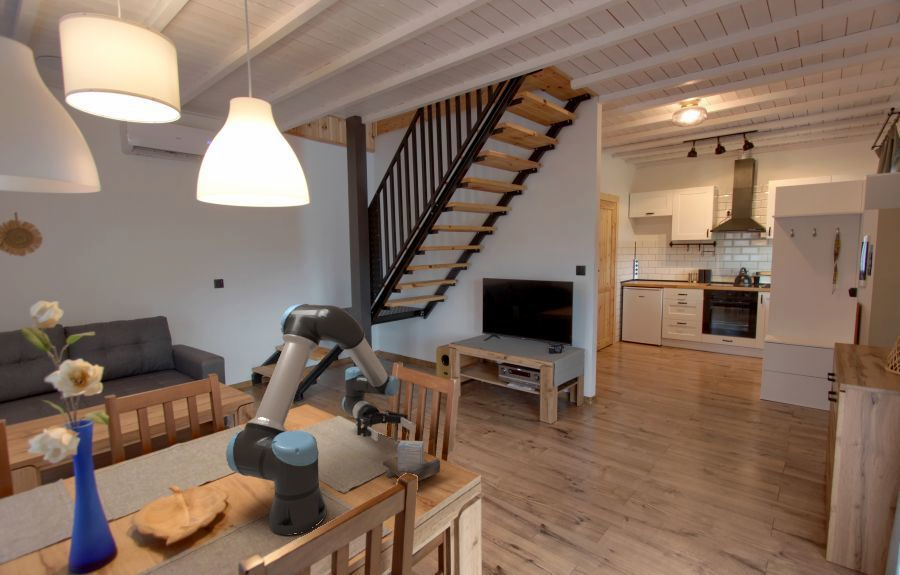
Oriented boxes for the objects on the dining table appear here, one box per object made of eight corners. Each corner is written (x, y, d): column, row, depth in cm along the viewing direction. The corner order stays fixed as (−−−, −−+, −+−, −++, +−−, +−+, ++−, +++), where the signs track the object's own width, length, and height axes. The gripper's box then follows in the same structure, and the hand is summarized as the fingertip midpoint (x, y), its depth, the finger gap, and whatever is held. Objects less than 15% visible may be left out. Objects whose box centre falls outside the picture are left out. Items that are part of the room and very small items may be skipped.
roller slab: (407, 493, 131) (407, 473, 130) (381, 472, 143) (381, 453, 143) (441, 478, 139) (441, 459, 138) (414, 460, 151) (413, 442, 151)
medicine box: (424, 466, 140) (424, 440, 139) (421, 473, 136) (421, 447, 135) (401, 464, 141) (400, 439, 140) (397, 471, 137) (397, 445, 136)
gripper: (394, 415, 171) (424, 432, 154) (335, 431, 156) (361, 452, 139) (394, 397, 170) (424, 412, 154) (335, 411, 155) (361, 430, 138)
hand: (394, 431), depth 146 cm, fingers open, 13 cm apart
